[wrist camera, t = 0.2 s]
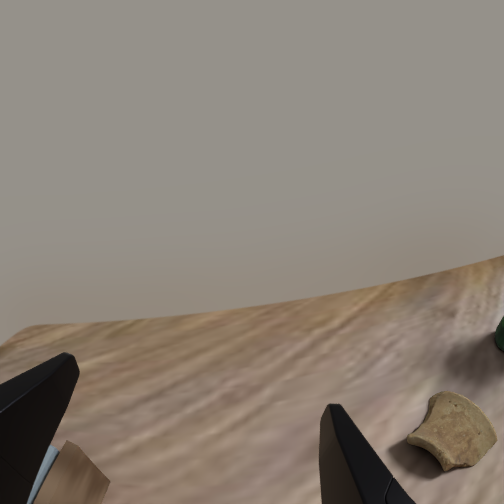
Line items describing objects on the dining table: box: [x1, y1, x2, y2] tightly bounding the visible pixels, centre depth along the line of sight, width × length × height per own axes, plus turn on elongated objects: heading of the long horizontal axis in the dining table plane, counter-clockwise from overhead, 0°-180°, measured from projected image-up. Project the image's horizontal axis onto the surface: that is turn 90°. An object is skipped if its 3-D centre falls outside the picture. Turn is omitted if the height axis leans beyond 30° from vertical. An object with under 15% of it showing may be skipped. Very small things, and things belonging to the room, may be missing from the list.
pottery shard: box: [407, 391, 497, 471], centre depth 19 cm, size 11×4×10 cm
